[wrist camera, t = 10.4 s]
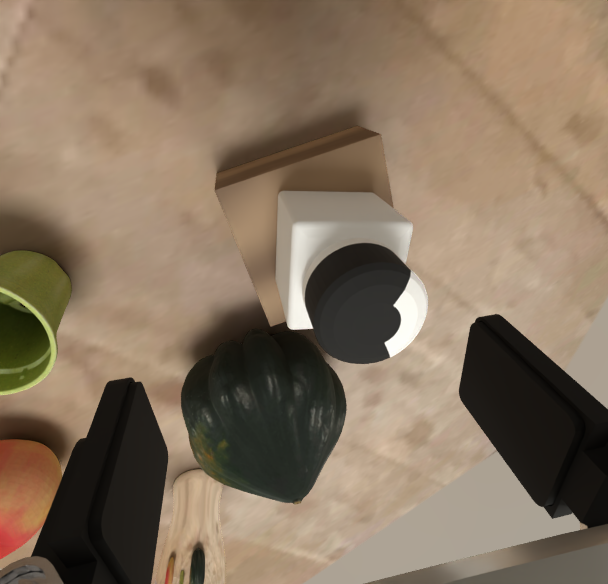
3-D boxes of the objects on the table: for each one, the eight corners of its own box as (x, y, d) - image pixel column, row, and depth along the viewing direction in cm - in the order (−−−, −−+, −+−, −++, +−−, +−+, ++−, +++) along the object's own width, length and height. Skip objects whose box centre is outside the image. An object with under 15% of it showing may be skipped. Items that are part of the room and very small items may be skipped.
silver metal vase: (180, 461, 46) (161, 610, 33) (235, 471, 49) (237, 614, 36) (161, 497, 49) (137, 649, 36) (214, 505, 51) (209, 650, 38)
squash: (164, 326, 31) (176, 539, 26) (344, 303, 33) (384, 493, 29) (190, 358, 44) (201, 503, 39) (318, 340, 47) (343, 474, 42)
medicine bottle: (274, 280, 30) (301, 385, 20) (277, 189, 27) (310, 258, 17) (361, 278, 32) (428, 376, 21) (374, 191, 28) (461, 256, 18)
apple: (55, 487, 45) (13, 585, 36) (-40, 465, 41) (-112, 568, 32) (90, 434, 42) (54, 526, 33) (-8, 404, 38) (-78, 499, 29)
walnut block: (216, 172, 32) (214, 190, 26) (355, 125, 32) (380, 134, 26) (264, 292, 38) (270, 326, 32) (381, 253, 38) (405, 280, 32)
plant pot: (100, 247, 32) (61, 298, 25) (87, 337, 36) (50, 404, 29) (-32, 215, 30) (-121, 261, 22) (-31, 316, 33) (-107, 385, 26)
